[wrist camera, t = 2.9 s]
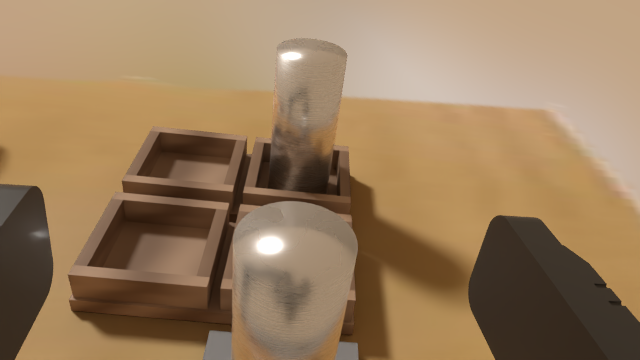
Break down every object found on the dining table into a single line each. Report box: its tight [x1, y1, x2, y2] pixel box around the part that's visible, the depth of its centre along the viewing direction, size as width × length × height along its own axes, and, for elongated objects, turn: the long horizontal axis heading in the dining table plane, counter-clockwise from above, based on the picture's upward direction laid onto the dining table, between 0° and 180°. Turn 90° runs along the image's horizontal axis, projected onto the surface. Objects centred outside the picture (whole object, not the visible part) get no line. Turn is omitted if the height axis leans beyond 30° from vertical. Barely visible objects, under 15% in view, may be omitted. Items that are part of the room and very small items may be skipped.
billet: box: [268, 39, 347, 195], centre depth 40 cm, size 5×5×12 cm
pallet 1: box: [122, 126, 351, 223], centre depth 43 cm, size 18×9×3 cm, turn 89°
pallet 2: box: [68, 192, 356, 335], centre depth 35 cm, size 18×9×3 cm, turn 89°
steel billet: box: [231, 201, 358, 360], centre depth 24 cm, size 5×5×12 cm
